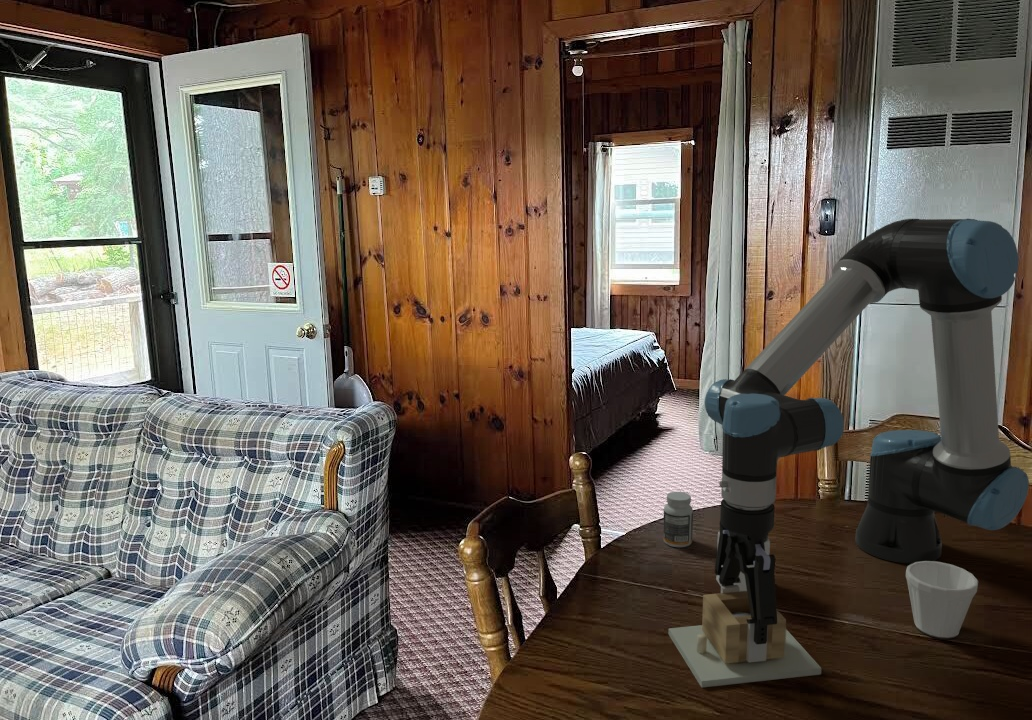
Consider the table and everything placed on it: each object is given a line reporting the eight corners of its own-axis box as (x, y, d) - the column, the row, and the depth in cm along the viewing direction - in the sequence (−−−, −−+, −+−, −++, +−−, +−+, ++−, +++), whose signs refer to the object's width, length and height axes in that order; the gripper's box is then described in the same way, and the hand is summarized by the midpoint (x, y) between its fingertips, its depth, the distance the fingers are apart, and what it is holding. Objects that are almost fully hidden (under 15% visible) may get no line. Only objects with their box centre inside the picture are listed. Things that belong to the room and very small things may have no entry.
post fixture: (775, 623, 126) (777, 589, 125) (821, 674, 112) (823, 636, 111) (668, 634, 124) (669, 599, 122) (701, 687, 110) (702, 649, 109)
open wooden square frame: (702, 630, 121) (703, 594, 120) (756, 624, 123) (758, 589, 121) (725, 663, 113) (726, 625, 112) (784, 657, 114) (786, 619, 113)
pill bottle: (670, 534, 160) (671, 488, 158) (696, 540, 157) (698, 494, 155) (658, 544, 156) (659, 497, 154) (685, 551, 153) (686, 503, 151)
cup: (887, 621, 126) (891, 568, 124) (931, 607, 130) (936, 555, 128) (942, 653, 117) (947, 596, 115) (987, 637, 121) (994, 582, 119)
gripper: (695, 477, 123) (691, 607, 128) (756, 534, 102) (749, 687, 107) (740, 473, 124) (735, 603, 129) (810, 529, 103) (801, 682, 108)
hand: (741, 641), depth 118 cm, fingers closed on open wooden square frame, 9 cm apart
